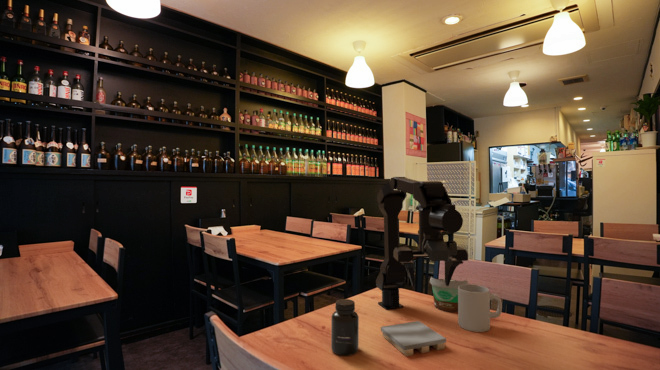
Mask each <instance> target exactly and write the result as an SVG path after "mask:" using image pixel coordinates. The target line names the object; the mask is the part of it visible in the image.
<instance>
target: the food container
mask: <svg viewBox="0 0 660 370" xmlns="http://www.w3.org/2000/svg"><path fill="white" fill-rule="evenodd" d="M429 284H431V286H432V287H431V288H432V296H433V304H434V305H433V306H434V307H435V308H436V309H437V310H439V311H442V312H446V313H458V286H460V285H464V284H469V281H468V280H467V278H466V279H465V280H456V279H452V278H451V281H450V283H449V286H446V284H445V278H434V277H433V276H432V275H431V277H430V279H429Z"/></svg>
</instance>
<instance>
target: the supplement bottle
mask: <svg viewBox="0 0 660 370" xmlns="http://www.w3.org/2000/svg"><path fill="white" fill-rule="evenodd" d="M355 303H356V302H355V301H354V300H352V299H348V298H340V299H338V300H336V301H335V307H334V309H335V311H333V313H332V314H331V330H330V332H331V336H330V337H331V340H330V342H331V345H330V346H331V347H330V348H331V350H332V352H333V353H334V354H336V355H338V356H344V357H349V356H353V355H355V354H357V353H358V351H359V339H360V338H359V333H360V332H359V329H360V327H359V325H360V324H359V323H360V321H359V319H360V318H359V315H358V313H357V311H355V310H356V307H355V306H356V305H355Z"/></svg>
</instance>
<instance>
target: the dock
mask: <svg viewBox="0 0 660 370" xmlns="http://www.w3.org/2000/svg"><path fill="white" fill-rule="evenodd" d="M380 331H381V332H382V336H383V338H384V339H386V340H387V341H388V342H389V343H390V344H391V345H392V346H394V347H395V349H396V350H398V351H399V352H400V353H402V354H403V355H404V356H405V357H410V356H414V349H416V350H417V351H419V352H420V353H421V354H424V353H430V346H432V347H433V348H434V349H435V350H436V351H441V350H445V345H446V343H447V338H446V337H444V336H443V335H441V334H440V333H438V332H436V331H435V330H434V329H432V328H431V327H429V326H427V325H426V324H425V323H423V322H421V321H420V320H415V321H409V322H404V323H397V324H390V325H385V326H380Z"/></svg>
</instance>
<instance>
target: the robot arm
mask: <svg viewBox="0 0 660 370" xmlns="http://www.w3.org/2000/svg"><path fill="white" fill-rule="evenodd" d="M408 194H409V195H411V196H412V198H413V199H414V200H415V201H416V202H418V203H419V204H418V205H417V206H416V207H415V210H416V211H418V230H417V234H418V245H417V249H418V250H412V249H411V248H410V247H407V246H406V247H403V246H402V247H400V237H399V236H400V235H399V215H400V213H401V211H402V210H403V207H404V201H405V199H406V198H407V195H408ZM376 201H377V203H378V210H379V211H380V213H382V216H383V237H384V239H383V240H384V258H383V261H382V263H381V264H380V266H379V267H380V269H379V270H380V271H379V273H378V275H377V278H376V280H375V287H376V288H377V289H378V290H381V301H378V302H377V304H378V305H379V306H381V307H382V308H384V309H385V310H392V309H393V310H394V309H400V308H401V309H402V308H404V305H402V304H401V303H400V289H405V287H406V283H407V276H408V279H409V281H410V283H411V286H412V287H416V283H415V282H416V278H415V270H414V269H415V268H414V267H415V261H414V262H413V260H414V259H415V258H417V259H418V258H428V259H429V261H431V262H433V263H436V262H444V279H445V284H446V286H449V283H450V281H451V279H452V278H453V275H454V272H455V270H456V269H457V267H458V266H459V265H462V264H464V262H467V261H469V252H468V251H467V249H466V248H463V247H461V246H459V245H458V243H457V242H456V240H447V241H445V240H444V234H443V232H444V233H450V234H454V233H457V232H459V231H460V230H461V228H462V226H463V224H464V219H463V217H462V214H461V212H459V210H456V204H453V203H452V199H451V197H450V196H449V194H448V191H447V189H446V187H445V186H444V183H443V182H442V181H437V180H436V181H435V180H434V181H432V180H431V181H428V180H426V181H419V180H415V179H411V178H407V177H406V176H392V177H391V178H390V180H389V181H388V182H387V183H385V184H384V185H383V186H381V188H380V189H379V191H378V193H377V195H376ZM406 273H407V274H406Z"/></svg>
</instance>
